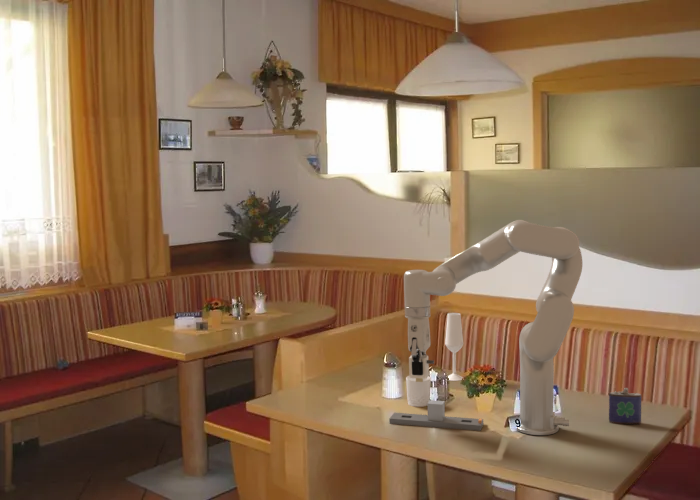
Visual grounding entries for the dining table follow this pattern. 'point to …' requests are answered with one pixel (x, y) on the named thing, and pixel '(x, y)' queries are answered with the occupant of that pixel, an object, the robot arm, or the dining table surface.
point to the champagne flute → (454, 340)
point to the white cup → (418, 391)
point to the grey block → (436, 410)
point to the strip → (446, 423)
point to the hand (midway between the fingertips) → (419, 372)
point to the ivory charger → (425, 368)
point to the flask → (625, 407)
